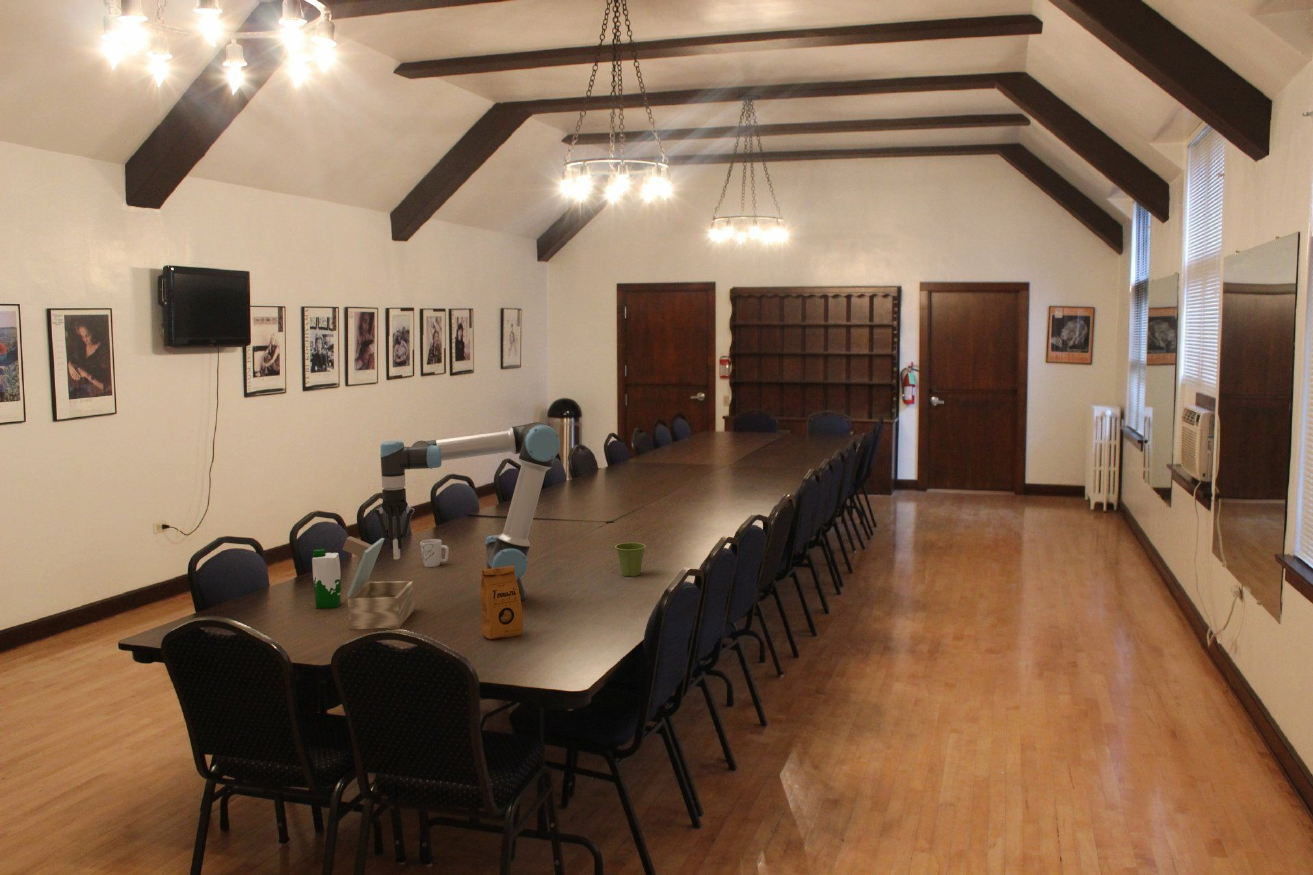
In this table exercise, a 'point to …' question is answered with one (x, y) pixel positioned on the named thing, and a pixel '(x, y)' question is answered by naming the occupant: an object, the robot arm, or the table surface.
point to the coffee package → (500, 603)
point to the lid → (362, 560)
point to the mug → (433, 552)
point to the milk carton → (326, 579)
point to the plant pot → (630, 558)
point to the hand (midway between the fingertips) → (396, 558)
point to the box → (381, 605)
